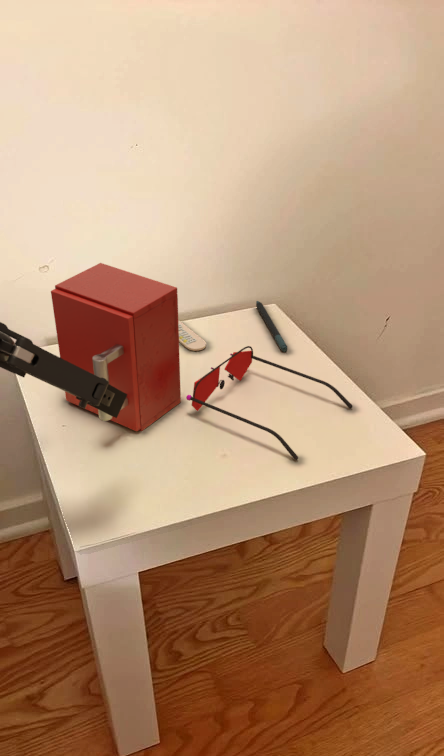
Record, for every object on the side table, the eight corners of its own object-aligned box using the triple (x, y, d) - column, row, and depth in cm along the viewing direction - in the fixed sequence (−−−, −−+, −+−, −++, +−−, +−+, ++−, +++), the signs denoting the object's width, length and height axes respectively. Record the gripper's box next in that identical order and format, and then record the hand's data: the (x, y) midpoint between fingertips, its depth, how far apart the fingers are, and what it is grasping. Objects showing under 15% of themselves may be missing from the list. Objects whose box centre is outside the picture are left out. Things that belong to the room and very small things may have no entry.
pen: (259, 304, 123) (260, 297, 122) (288, 352, 111) (288, 345, 110) (253, 304, 123) (253, 298, 122) (280, 353, 111) (281, 345, 110)
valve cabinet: (141, 431, 96) (133, 313, 86) (70, 400, 101) (54, 285, 91) (181, 402, 101) (177, 287, 91) (111, 374, 106) (100, 262, 96)
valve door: (113, 448, 92) (101, 334, 83) (41, 415, 97) (23, 304, 88) (140, 428, 95) (132, 315, 86) (70, 397, 101) (55, 288, 91)
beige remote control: (156, 319, 117) (173, 314, 118) (156, 322, 117) (173, 318, 119) (192, 348, 110) (210, 343, 111) (192, 352, 111) (210, 347, 112)
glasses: (246, 369, 107) (247, 336, 104) (352, 408, 100) (357, 375, 97) (184, 415, 99) (184, 381, 95) (296, 462, 91) (299, 427, 88)
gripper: (-183, 309, 70) (-22, 380, 89) (10, 398, 59) (146, 457, 78) (-148, 233, 70) (5, 321, 89) (51, 308, 59) (177, 389, 78)
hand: (71, 384), depth 84 cm, fingers open, 13 cm apart
